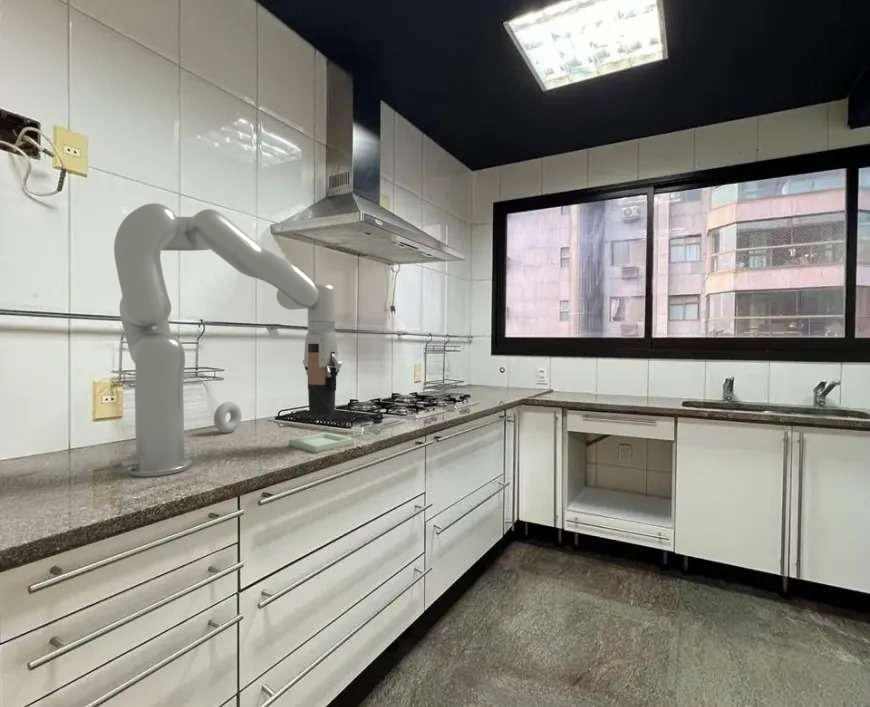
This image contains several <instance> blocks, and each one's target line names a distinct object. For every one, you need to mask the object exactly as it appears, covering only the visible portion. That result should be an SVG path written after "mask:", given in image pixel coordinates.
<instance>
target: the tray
mask: <svg viewBox="0 0 870 707" xmlns="http://www.w3.org/2000/svg"><path fill="white" fill-rule="evenodd" d="M353 444H354V445H355V438H353V437H349V436H344V435H339V434H335V433H329V432H322V433H317V434H312V435H307V436H306V435H305V436H299V437H295V438H289V439H288V446H289V447H290V448H291V447H292V448H295V449H300V450H303V451H306V452H310V453H314V454H319V453H324V452H328V450H329V451H333V450H336V449H337V450H338V449H341V448H340V447H342V448H345V447H344V446H346V447H349V446H348V445H351V446H354V445H353Z"/></svg>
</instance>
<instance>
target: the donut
mask: <svg viewBox="0 0 870 707" xmlns="http://www.w3.org/2000/svg"><path fill="white" fill-rule="evenodd" d="M228 413H229V414H230V419H229V420H228V422H227V420H226V416H227V415H228ZM241 421H242V411H241V408H240V407H239V405H238V404H237V403H235V402H232V401H227V402H224V403H221V404H220V405H219V406H217V408H216V409H215V412H214V415H213V424H214V426H215V428H216V429H217V430H218V431H219V432H221V433H223V434H229V433H231V432H234V431H236V430H237V429H238V428H239V426H240V424H241Z"/></svg>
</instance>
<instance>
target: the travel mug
mask: <svg viewBox="0 0 870 707" xmlns="http://www.w3.org/2000/svg"><path fill="white" fill-rule="evenodd" d="M333 363H334V362H333V361H332V360H331V359H330V362H329V365H328V366H333ZM329 370H330V371H331V370H332V369H329ZM326 377H328V376H327V374H326V371H325V368H319V344H308V375H307V390H308V392H307V394H308V414H309V415H311V416H317V417H318V416H331V415H334V414H335V412H336V391H326Z"/></svg>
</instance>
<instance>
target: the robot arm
mask: <svg viewBox="0 0 870 707" xmlns="http://www.w3.org/2000/svg"><path fill="white" fill-rule="evenodd" d="M117 229H118V230H117V232H116V234H115V239H114V242H113V243H114V244H113V245H114V246H113V254H114V255H113V256H114V261H115V266H116V271H117V272H116V273H117V276H118V277H117V278H118V282H119V286H120V291H121V295H122V297H121V300H120V301H119V315H120V319H121V323H122V326H123V327H122V328H123V331H124V335H125V339H126V344H127V347H128V352H129V355H130V358H131V360H132V362H133V363H134V366H135V368H134V369H135V370H134V371H135V372H134V374H135V376H134V403H135V404H134V412H135V413H134V414H135V417H134V418H135V420H134V421H135V424H134V425H135V450H133V451H131V452H130V455H126V457H124V458H123V457H122V458H120V457H119V458H113V459H110V460H109V467H110V469H117V468H121V469H125V468H127V474H128V475H130V476H133V477H139V478H140V477H141V478H142V477H145V478H146V477H158V476H159V477H160V476H166V475H171V474H175V473H176V474H177V473H180V472H183V471H186V470H188V469H190V467H192V460H191V459H190V458H186V457H185V438H184V437H185V434H184V433H185V432H184V431H185V430H184V426H185V424H184V423H185V422H184V421H185V420H184V419H185V418H184V410H185V409H184V378H185V367H186V366H185V365H186V353H185V349H184V346H183V344H182V342H181V341H180V340H179V339H178V337H176V336H174V335H172V331H171V328H170V323H169V318H170V316H171V311H172V304H171V301H170V298H169V295H168V290H167V286H166V281H165V278H164V275H163V274H164V273H163V268H162V262H161V261H162V260H161V251H165V252H167V251H173V252H174V251H180V252H181V251H182V252H183V251H186V252H193V251H196V252H197V251H208V250H211V251H212V252H214V253H215V254H216V255H217V256H218V257H220V258H221V259H223V261H225V262H226V263H228V264H229V265H230V266H232V267H233V268H234V269H235V270H237V271H238V272H239V273H241V274H243V275H245V276H248V277H250V278H255V279H257V280H261V281H264V282H265V283H268V284H270V285H272V286H273V287H275V288H276V289H277V292H276V301H277V302H278V305H280V306H281V307H282V308H284V309H286V310H292V311H293V310H305V309H306V310H307V333H306V336H305V342H304V354H303V355H304V356H303V358H304V359H303V360H302V364H303V365H304V369H305V371H306V373H305V374H306V376H308V344H319V368H325V371H326V374H327V376H328V377H326V391H335V392H336V390H337V377H338V373H339V372H340V369H341V368H342V364H343V363H342V361H341V360H340V359H339V357H338V353H339V352H338V343H337V336H336V321H335V320H336V317H335V316H336V295H335V294H336V291H335V287H334V286H333V285H330V284H327V283H314V282H313V281H312V279H310V278H309V277H308V276H307V275H306V274H304V273H303V272H302V271H301V270H300V269H299V268H297V266H294V264H292V263H291V262H289V261H287V260H286V259H284V258H282V257H280V256H278V255H276V254H275V253H273V252H271V251H270V250H268V249H265V248H264V247H263V246H261V245H260V244H258V242H256V241H255V240H254V239H253V238H252V237H250V236H249V235H248V234H247V233H246V232H244V231H243V230H242V229H241V228H239V227H238V226H237V225H236V224H235V223H233V221H232V220H230V219H229V218H228V217H227V216H225V215H224V214H223V213H221V212H220V211H217V210H215V209H209V208H208V209H202V210H200V211H198V212H197V213H196V214H194V216H177V215H176V214H175V212H174V211H173V210H172V209H170V208H169V207H168V206H166V205H165V204H161V203H146V204H144V205H141V206H139V207H137V208H136V209H134V210H133V211H132V212H130V213H129V214H127V216H126V217H125V218H124V219H123V221H121V223H120V225H119V227H118V228H117ZM330 359H331V360H332V361H333V362H334V363H333V366H328V365H329V362H330ZM329 369H332V370H331V371H330V370H329Z"/></svg>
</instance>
